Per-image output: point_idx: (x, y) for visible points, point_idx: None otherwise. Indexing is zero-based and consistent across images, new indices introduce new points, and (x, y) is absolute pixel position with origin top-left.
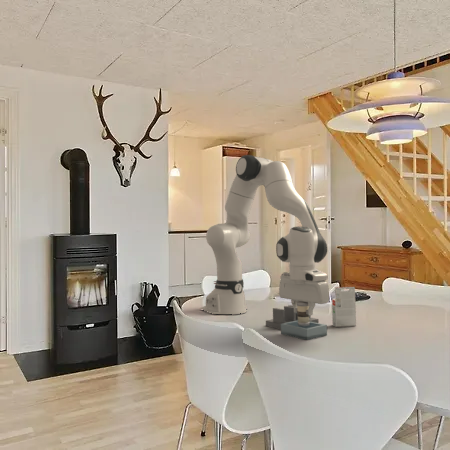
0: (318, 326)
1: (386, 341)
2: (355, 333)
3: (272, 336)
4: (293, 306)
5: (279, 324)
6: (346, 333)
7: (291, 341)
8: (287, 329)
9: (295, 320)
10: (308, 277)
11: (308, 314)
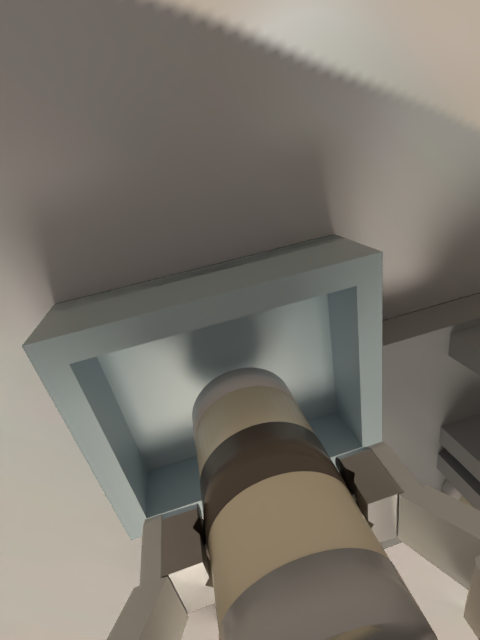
0: (107, 477)
1: None
2: (102, 594)
3: (318, 118)
4: (441, 498)
5: (467, 316)
6: (124, 564)
7: (71, 160)
8: (283, 263)
9: (442, 440)
10: None
11: (156, 520)
